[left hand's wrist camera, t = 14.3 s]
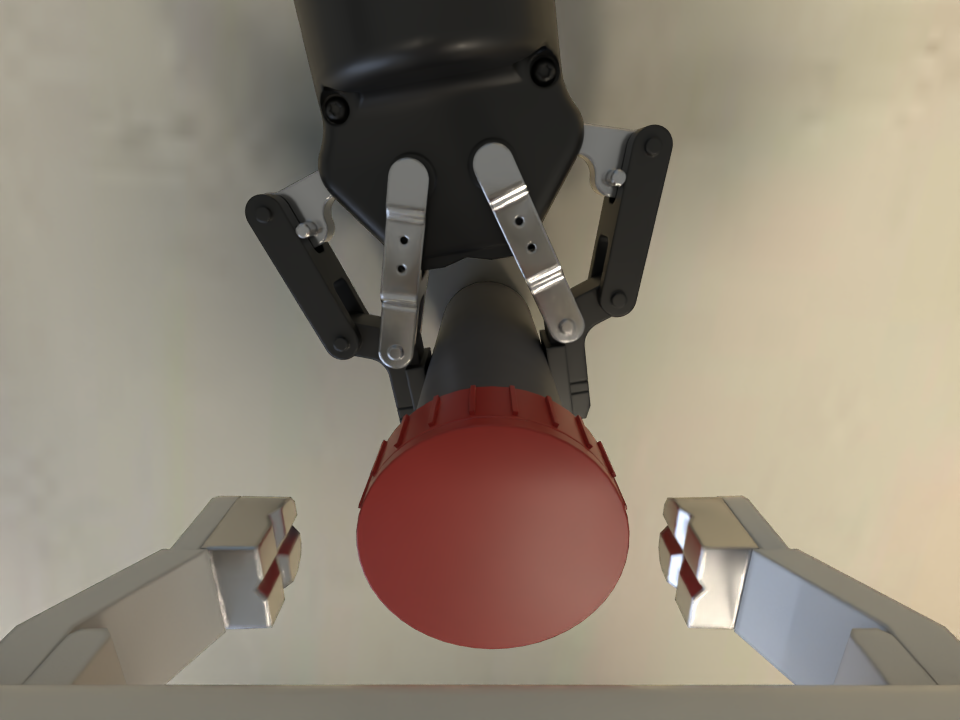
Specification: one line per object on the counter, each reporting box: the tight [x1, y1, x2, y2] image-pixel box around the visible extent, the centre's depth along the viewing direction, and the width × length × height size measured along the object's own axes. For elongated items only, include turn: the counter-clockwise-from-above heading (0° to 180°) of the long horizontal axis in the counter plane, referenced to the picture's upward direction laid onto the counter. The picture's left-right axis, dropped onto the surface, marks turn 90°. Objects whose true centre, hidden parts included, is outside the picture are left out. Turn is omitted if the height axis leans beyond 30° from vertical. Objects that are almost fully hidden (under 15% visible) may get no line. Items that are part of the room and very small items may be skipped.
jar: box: [416, 282, 562, 410], centre depth 18 cm, size 4×4×15 cm
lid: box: [356, 385, 629, 649], centre depth 11 cm, size 6×6×2 cm
